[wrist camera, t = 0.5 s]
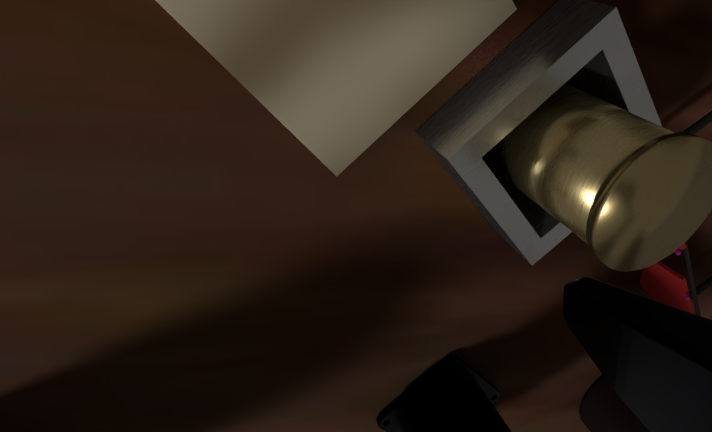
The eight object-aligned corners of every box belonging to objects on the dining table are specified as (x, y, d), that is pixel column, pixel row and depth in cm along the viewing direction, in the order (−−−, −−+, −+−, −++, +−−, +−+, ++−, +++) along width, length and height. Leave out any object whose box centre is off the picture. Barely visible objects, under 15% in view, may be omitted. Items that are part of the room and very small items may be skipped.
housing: (622, 124, 27) (670, 147, 25) (498, 233, 28) (531, 265, 25) (564, -6, 22) (616, 6, 20) (415, 131, 23) (447, 159, 21)
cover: (590, 125, 26) (735, 201, 20) (507, 198, 27) (622, 294, 20) (549, 45, 23) (706, 105, 17) (456, 129, 24) (574, 218, 17)
